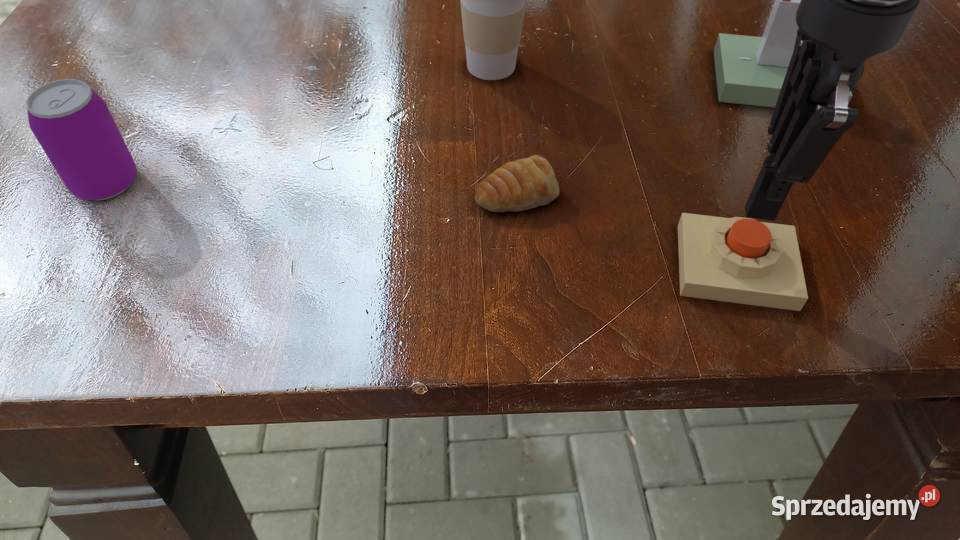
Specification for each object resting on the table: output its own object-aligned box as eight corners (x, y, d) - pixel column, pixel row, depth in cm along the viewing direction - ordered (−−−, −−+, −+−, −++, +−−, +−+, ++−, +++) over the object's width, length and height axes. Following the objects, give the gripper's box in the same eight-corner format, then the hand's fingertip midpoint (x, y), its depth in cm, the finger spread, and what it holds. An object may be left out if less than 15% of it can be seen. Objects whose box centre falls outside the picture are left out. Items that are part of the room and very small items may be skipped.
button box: (787, 239, 76) (801, 213, 73) (800, 311, 70) (815, 286, 67) (677, 226, 77) (686, 200, 74) (680, 296, 71) (689, 271, 68)
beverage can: (116, 210, 78) (68, 125, 69) (55, 198, 79) (1, 112, 70) (152, 166, 83) (112, 80, 73) (95, 155, 84) (49, 70, 74)
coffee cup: (534, 58, 98) (543, -47, 86) (506, 92, 93) (511, -15, 81) (477, 41, 100) (478, -63, 89) (447, 73, 95) (444, -33, 84)
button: (764, 232, 72) (769, 220, 71) (768, 261, 69) (774, 249, 68) (724, 227, 72) (729, 216, 71) (727, 256, 70) (732, 244, 68)
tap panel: (828, 62, 98) (837, 42, 96) (843, 114, 90) (853, 94, 88) (713, 51, 100) (719, 31, 97) (718, 102, 92) (725, 81, 89)
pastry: (491, 227, 77) (492, 202, 74) (464, 190, 81) (463, 165, 78) (563, 200, 80) (566, 175, 77) (533, 166, 83) (535, 141, 81)
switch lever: (808, 60, 93) (836, -5, 86) (811, 69, 92) (839, 4, 85) (755, 55, 94) (778, -10, 87) (756, 64, 92) (780, -1, 85)
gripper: (800, -65, 54) (716, 164, 72) (828, 24, 45) (725, 258, 64) (901, -57, 53) (790, 173, 71) (948, 35, 45) (809, 269, 63)
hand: (759, 213), depth 67 cm, fingers closed
